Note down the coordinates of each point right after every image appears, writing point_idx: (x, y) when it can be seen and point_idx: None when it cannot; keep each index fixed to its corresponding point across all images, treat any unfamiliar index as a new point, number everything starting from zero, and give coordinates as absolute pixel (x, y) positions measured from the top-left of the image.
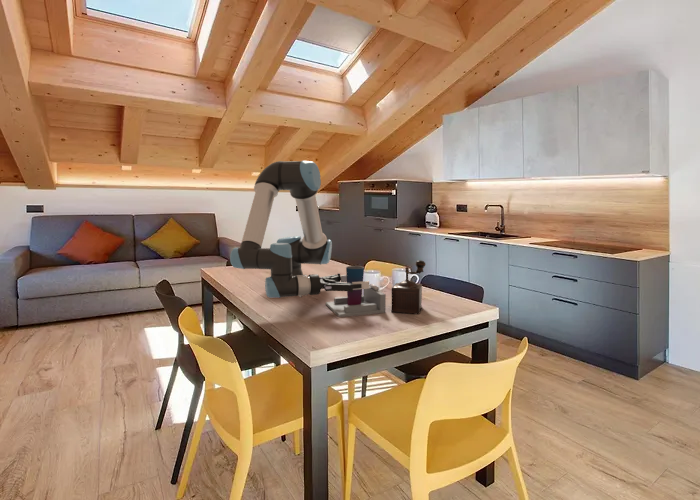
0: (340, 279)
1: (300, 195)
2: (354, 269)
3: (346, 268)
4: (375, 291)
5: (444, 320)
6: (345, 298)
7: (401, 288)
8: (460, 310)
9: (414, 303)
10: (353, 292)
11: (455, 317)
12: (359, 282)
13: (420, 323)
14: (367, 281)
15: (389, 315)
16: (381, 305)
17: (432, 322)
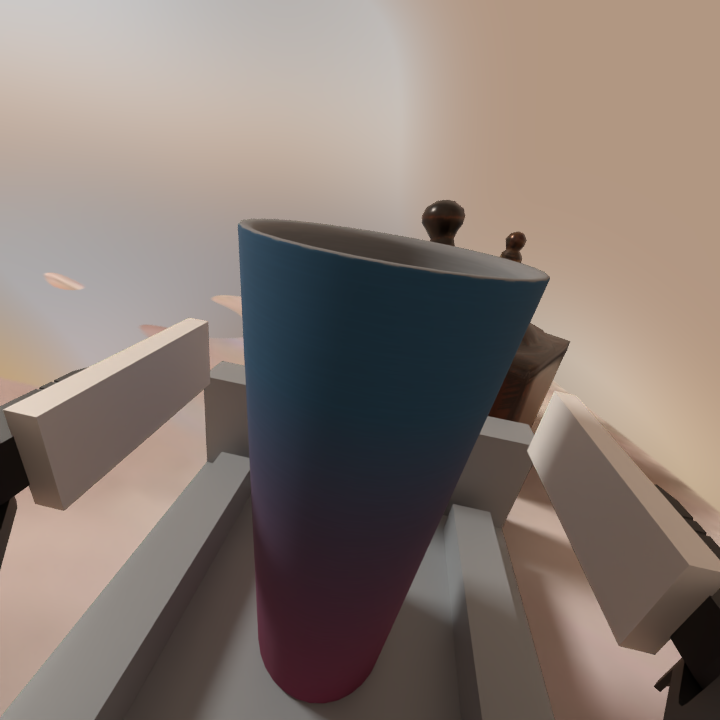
0: (19, 476)
1: None
2: (544, 289)
3: (362, 283)
4: None
5: (604, 423)
6: (162, 613)
7: (546, 357)
8: None
9: (542, 402)
10: (413, 576)
11: (564, 392)
12: (638, 475)
13: (672, 493)
14: (583, 405)
15: (544, 525)
16: (511, 499)
17: (641, 457)
